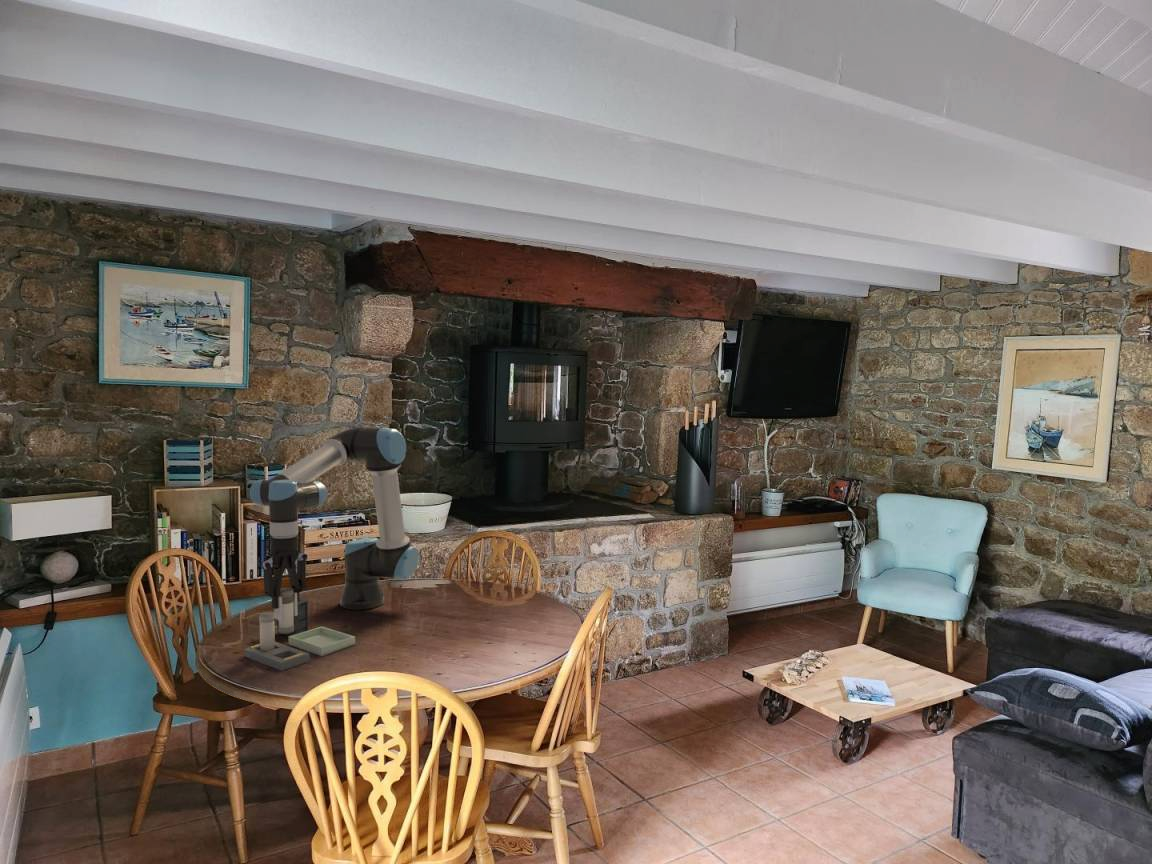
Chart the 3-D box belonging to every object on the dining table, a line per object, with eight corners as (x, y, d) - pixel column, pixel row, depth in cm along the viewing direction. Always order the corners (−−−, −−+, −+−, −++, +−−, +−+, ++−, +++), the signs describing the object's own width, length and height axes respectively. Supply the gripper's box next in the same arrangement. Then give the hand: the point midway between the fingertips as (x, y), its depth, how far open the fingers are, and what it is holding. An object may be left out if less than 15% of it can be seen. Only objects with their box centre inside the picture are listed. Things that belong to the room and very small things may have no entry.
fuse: (269, 651, 228) (269, 611, 227) (278, 654, 225) (277, 614, 225) (256, 655, 224) (256, 615, 224) (265, 659, 222) (264, 618, 221)
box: (276, 633, 244) (276, 600, 243) (291, 628, 249) (291, 596, 248) (294, 638, 240) (293, 604, 239) (308, 633, 245) (308, 600, 244)
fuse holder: (244, 656, 224) (244, 648, 224) (272, 647, 231) (272, 639, 231) (281, 670, 213) (281, 661, 213) (309, 661, 221) (309, 652, 221)
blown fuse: (288, 627, 222) (287, 586, 221) (297, 630, 220) (296, 589, 219) (275, 631, 219) (274, 590, 218) (284, 634, 216) (283, 592, 215)
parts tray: (288, 644, 234) (288, 636, 234) (322, 634, 244) (321, 626, 244) (321, 656, 225) (321, 647, 225) (355, 644, 235) (355, 636, 234)
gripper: (302, 528, 226) (304, 606, 228) (248, 539, 212) (250, 622, 214) (318, 532, 222) (320, 611, 224) (264, 542, 208) (266, 627, 210)
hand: (286, 616), depth 219 cm, fingers closed on blown fuse, 4 cm apart
